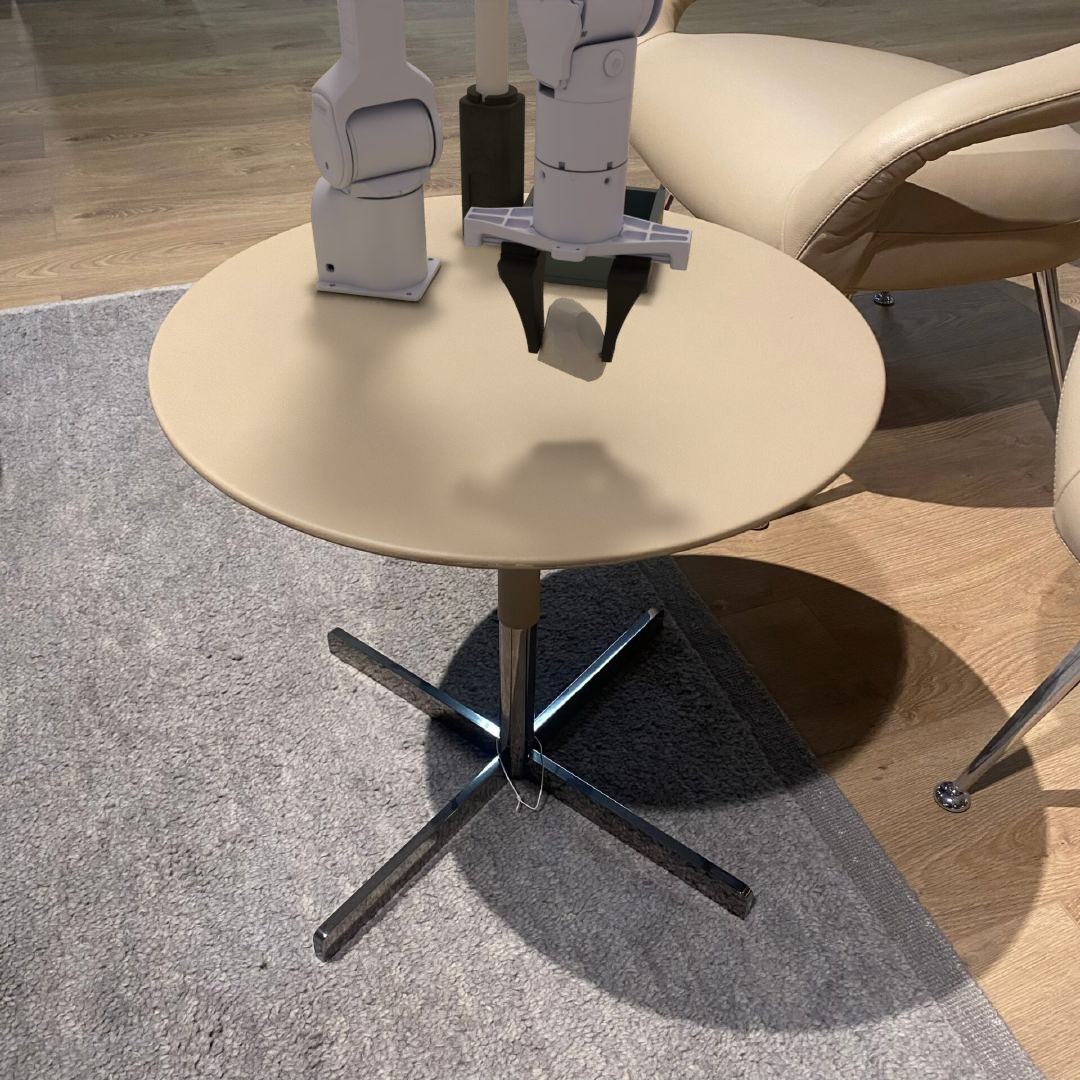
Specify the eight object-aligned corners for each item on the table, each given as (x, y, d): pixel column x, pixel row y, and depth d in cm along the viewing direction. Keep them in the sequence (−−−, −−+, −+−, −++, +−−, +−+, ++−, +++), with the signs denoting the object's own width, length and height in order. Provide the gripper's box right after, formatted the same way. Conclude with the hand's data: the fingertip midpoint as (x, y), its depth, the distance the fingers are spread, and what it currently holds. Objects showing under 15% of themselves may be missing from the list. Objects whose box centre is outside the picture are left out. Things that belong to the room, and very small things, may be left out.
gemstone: (521, 303, 73) (574, 273, 70) (574, 363, 76) (626, 337, 73) (496, 356, 69) (550, 327, 66) (552, 417, 72) (607, 392, 69)
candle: (527, 227, 102) (532, -59, 85) (505, 247, 98) (505, -48, 82) (481, 217, 103) (477, -66, 87) (458, 236, 100) (449, -55, 83)
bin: (509, 278, 93) (510, 230, 90) (536, 222, 103) (537, 177, 100) (647, 293, 92) (651, 244, 89) (661, 235, 101) (665, 189, 98)
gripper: (448, 167, 60) (455, 367, 69) (695, 192, 58) (669, 394, 67) (477, 127, 65) (480, 317, 74) (704, 148, 63) (679, 341, 72)
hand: (571, 350), depth 71 cm, fingers closed on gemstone, 4 cm apart
